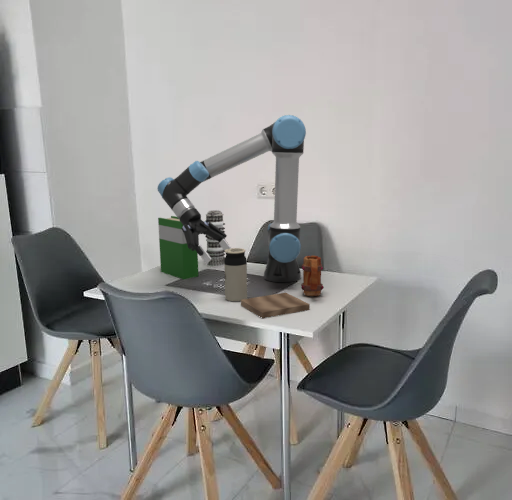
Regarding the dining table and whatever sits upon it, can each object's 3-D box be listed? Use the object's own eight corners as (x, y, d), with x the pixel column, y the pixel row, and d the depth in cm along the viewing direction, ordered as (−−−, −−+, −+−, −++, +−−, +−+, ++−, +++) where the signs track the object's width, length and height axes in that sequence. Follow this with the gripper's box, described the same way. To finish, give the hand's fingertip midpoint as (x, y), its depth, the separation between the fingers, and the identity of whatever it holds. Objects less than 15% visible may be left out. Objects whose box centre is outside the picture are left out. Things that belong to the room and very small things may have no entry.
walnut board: (285, 297, 196) (285, 292, 195) (309, 309, 182) (309, 304, 181) (240, 305, 188) (240, 299, 187) (262, 318, 174) (262, 312, 173)
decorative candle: (208, 262, 253) (207, 209, 247) (228, 263, 251) (226, 209, 246) (203, 267, 244) (201, 212, 239) (223, 267, 242) (221, 212, 237)
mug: (300, 291, 204) (300, 252, 201) (322, 291, 203) (322, 252, 200) (302, 303, 189) (302, 261, 186) (325, 303, 189) (326, 261, 186)
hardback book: (160, 272, 236) (158, 217, 231) (175, 269, 241) (172, 215, 236) (183, 279, 223) (181, 222, 219) (198, 276, 228) (196, 220, 223)
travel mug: (249, 296, 199) (248, 248, 195) (244, 302, 191) (243, 252, 187) (228, 295, 200) (227, 247, 197) (222, 301, 193) (221, 252, 189)
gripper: (203, 216, 212) (234, 257, 207) (158, 225, 192) (193, 271, 187) (213, 203, 209) (246, 245, 204) (169, 211, 188) (204, 258, 183)
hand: (220, 257), depth 195 cm, fingers open, 13 cm apart
